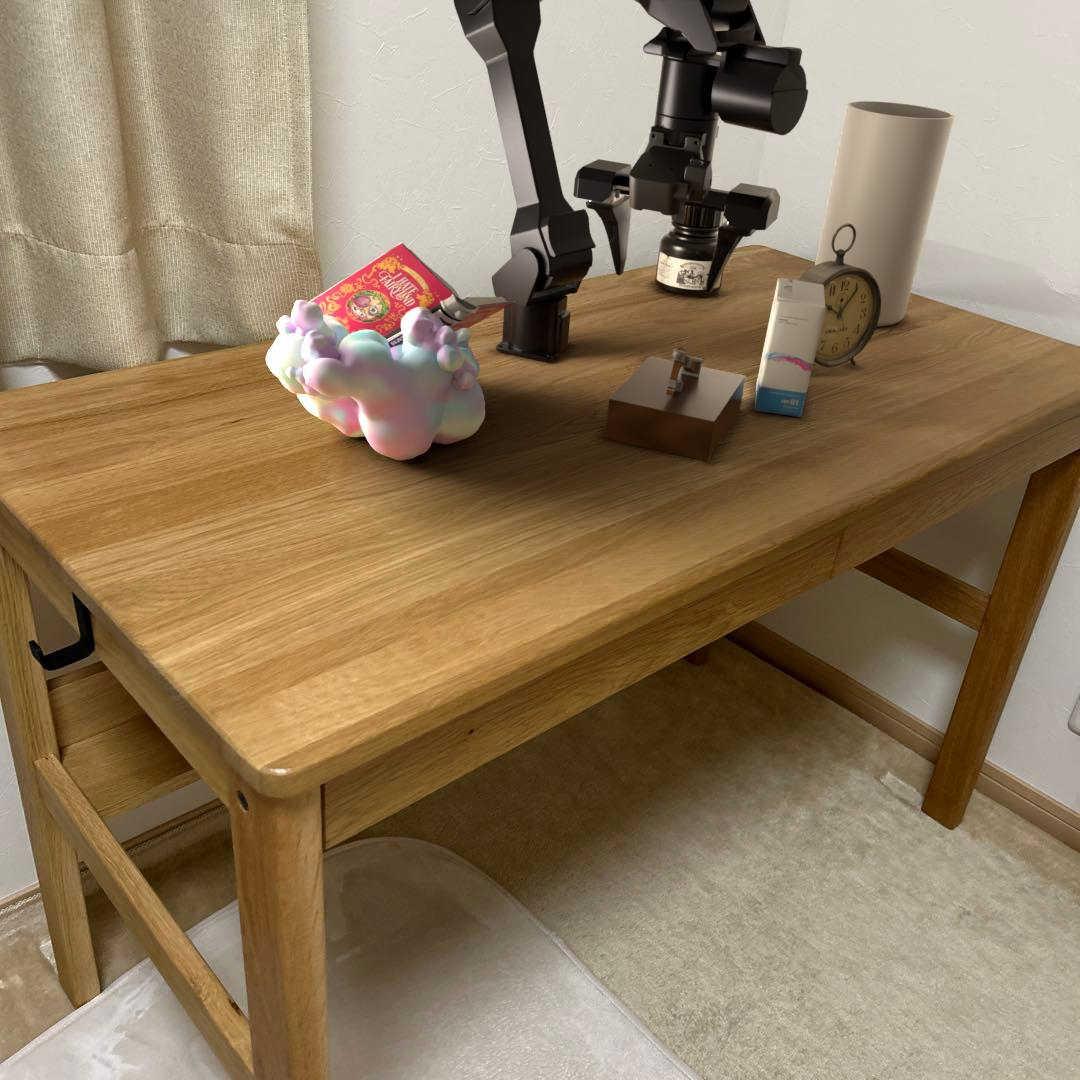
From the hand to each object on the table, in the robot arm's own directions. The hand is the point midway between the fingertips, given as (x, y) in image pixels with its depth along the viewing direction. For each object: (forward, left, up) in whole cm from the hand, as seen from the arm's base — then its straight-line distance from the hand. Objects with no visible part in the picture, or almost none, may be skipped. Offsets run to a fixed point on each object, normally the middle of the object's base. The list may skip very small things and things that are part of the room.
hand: (663, 283), depth 105 cm
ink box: (+12, +6, -12) cm, 18 cm away
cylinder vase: (+15, +42, -12) cm, 46 cm away
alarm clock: (+14, +18, -12) cm, 26 cm away
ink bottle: (-7, +39, -12) cm, 41 cm away
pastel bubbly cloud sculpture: (-20, -20, -12) cm, 31 cm away
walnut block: (+4, -6, -12) cm, 14 cm away
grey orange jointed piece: (+5, -6, -8) cm, 11 cm away
